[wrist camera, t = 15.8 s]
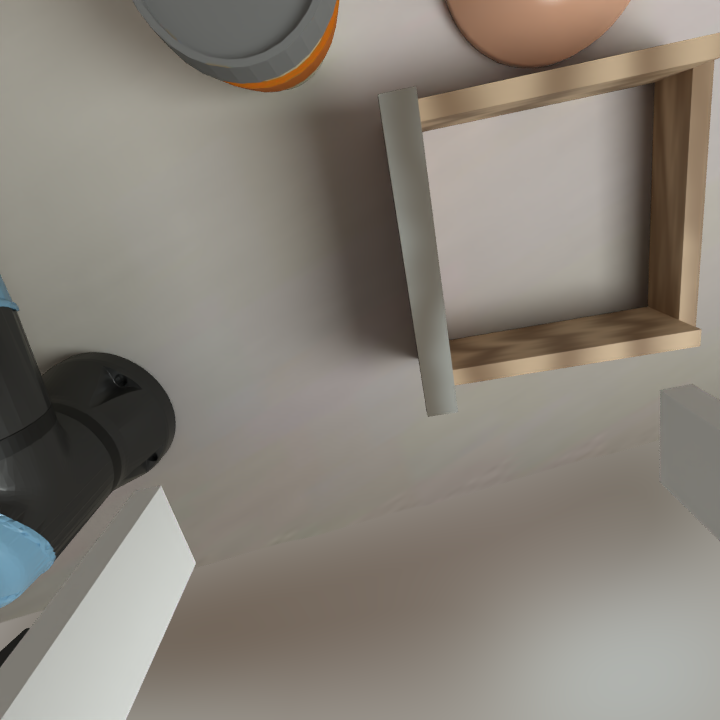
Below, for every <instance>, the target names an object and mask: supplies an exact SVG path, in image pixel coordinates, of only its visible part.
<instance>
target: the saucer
mask: <svg viewBox="0 0 720 720" xmlns="http://www.w3.org/2000/svg"><path fill="white" fill-rule="evenodd" d="M446 2H447V6H448V8H449V10H450V13H451V15H452V18H453V20H454V21H455V23H456V25H457V27H458V28H459V30H460V31H461V33H462V34H463V35H464V37H465V38H466V39H467V40H468V41H469V42H470V43H471V44H472V45H473V46H474V47H475V48H476V49H477V50H478V51H480V52H481V53H482V54H484V55H485V56H487V57H488V58H490V59H492V60H494V61H496V62H498V63H502V64H505V65H508V66H512V67H519V68H537V67H543V66H548V65H552V64H555V63H558V62H561V61H563V60H565V59H567V58H570V57H572V56H573V55H575V54H577V53H578V52H580V51H582V50H583V49H585V48H586V47H588V46H589V45H590V44H592V43H593V42H594V41H596V40H597V39H598V38H599V37H601V36H602V35H603V34H604V33H605V32H606V31H607V30H608V29H609V28H610V27H611V26H612V25H613V24H614V22H615V21H616V20H617V19H618V17H619V16H620V15H621V14H622V13H623V11H624V9H625V8H626V6H627V5H628V3H629V2H630V0H446Z"/></svg>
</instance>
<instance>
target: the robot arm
mask: <svg viewBox="0 0 720 720" xmlns="http://www.w3.org/2000/svg"><path fill="white" fill-rule="evenodd" d="M17 311H19V308H18V306H17V304H16V303H14V302H12V300H11V297H10V295H9V293H8V291H7V288H6V286H5V284H4V282H3V279H2V277H1V275H0V608H1V607H3V606H6V605H7V604H9V603H11V602H12V601H14V600H15V599H16V598H18V597H19V596H20V595H21V594H22V593H23V592H24V591H25V590H26V589H27V588H28V587H29V586H30V585H31V584H32V583H33V582H34V581H35V580H36V579H37V578H38V577H39V576H40V575H41V574H42V573H44V572H46V571H47V570H48V569H49V568H50V567H51V565H52V564H53V562H54V561H55V560H56V559H57V557H58V556H59V555H60V554H61V552H62V551H63V550H64V549H65V548H66V546H67V545H68V544H69V543H70V542H71V540H72V539H73V538H74V537H75V536H76V534H77V533H78V532H79V531H80V530H81V528H82V527H83V526H84V525H85V524H86V522H87V521H88V520H89V519H90V518H91V516H92V515H93V514H94V513H95V512H96V510H97V509H98V508H99V507H100V506H101V504H102V503H103V502H104V501H105V499H106V498H107V497H108V496H109V495H110V494H111V492H112V491H113V490H115V489H117V488H119V487H121V486H123V485H125V484H127V483H128V482H130V481H132V480H134V479H136V478H138V477H140V476H142V475H144V474H145V473H147V472H148V471H150V470H151V469H152V468H153V467H154V466H155V465H156V464H157V463H158V462H159V461H160V460H161V458H162V457H163V456H164V455H165V453H166V452H167V451H168V449H169V448H170V446H171V444H172V441H173V438H174V434H175V414H174V410H173V407H172V404H171V402H170V399H169V397H168V395H167V394H166V392H165V391H164V389H163V388H162V386H161V385H160V384H159V383H158V382H157V380H156V379H155V378H154V377H153V376H152V375H150V374H149V373H148V372H147V371H145V370H144V369H143V368H141V367H140V366H138V365H136V364H135V363H133V362H131V361H129V360H126V359H124V358H121V357H118V356H115V355H111V354H105V353H85V354H80V355H76V356H73V357H71V358H68V359H66V360H65V361H63V362H61V363H59V364H57V365H56V366H54V367H52V368H51V369H49V370H48V371H47V372H46V373H45V374H43V375H42V376H41V374H40V371H39V368H38V366H37V363H36V360H35V358H34V355H33V353H32V350H31V347H30V345H29V342H28V340H27V337H26V334H25V332H24V329H23V326H22V324H21V321H20V319H19V316H18V313H17ZM660 483H661V484H662V485H663V486H664V487H665V488H667V490H668V491H669V492H670V493H671V494H672V495H673V496H674V497H675V498H676V499H678V501H679V502H680V503H681V504H682V505H684V506H685V507H686V508H687V509H688V510H689V511H690V512H691V513H692V514H693V515H694V516H695V517H696V518H697V519H698V520H699V521H700V522H701V523H702V524H703V525H704V526H705V527H706V528H707V529H708V530H709V531H710V532H711V533H712V534H713V535H714V536H715V537H716V538H717V539H718V540H719V541H720V400H719V399H717V398H715V397H714V396H712V395H710V394H709V393H707V392H705V391H703V390H702V389H700V388H698V387H697V386H695V385H693V384H689V385H684V386H679V387H674V388H669V389H663V390H660ZM195 564H196V562H195V560H194V558H193V556H192V553H191V551H190V549H189V547H188V544H187V542H186V540H185V538H184V536H183V533H182V531H181V529H180V527H179V524H178V522H177V520H176V518H175V516H174V513H173V511H172V509H171V507H170V504H169V502H168V500H167V498H166V496H165V493H164V491H163V489H162V487H161V486H157V487H152V488H147V489H141V490H136V491H134V492H133V494H132V495H131V496H130V498H129V499H128V500H127V502H126V503H125V504H124V506H123V507H122V508H121V509H120V511H119V512H118V513H117V515H116V516H115V517H114V519H113V520H112V521H111V523H110V524H109V525H108V527H107V528H106V529H105V530H104V532H103V533H102V534H101V536H100V537H99V538H98V540H97V541H96V542H95V544H94V545H93V546H92V548H91V549H90V550H89V551H88V553H87V554H86V555H85V557H84V558H83V559H82V561H81V562H80V563H79V565H78V566H77V567H76V569H75V570H74V571H73V573H72V574H71V575H70V576H69V578H68V579H67V580H66V582H65V583H64V584H63V586H62V587H61V588H60V590H59V591H58V592H57V594H56V595H55V596H54V597H53V599H52V600H51V601H50V603H49V604H48V605H47V607H46V608H45V609H44V611H43V612H42V613H41V615H40V616H39V617H38V618H37V620H36V621H35V622H34V624H33V625H32V627H31V628H27V629H25V630H24V631H22V632H21V633H20V634H19V635H18V636H17V637H16V638H15V639H14V640H12V641H11V642H10V643H9V644H8V645H7V646H6V647H5V648H4V649H3V650H1V651H0V720H126V718H127V716H128V713H129V711H130V709H131V707H132V704H133V702H134V700H135V698H136V696H137V693H138V691H139V689H140V687H141V684H142V682H143V680H144V678H145V676H146V673H147V671H148V669H149V667H150V664H151V662H152V660H153V658H154V655H155V653H156V651H157V649H158V647H159V644H160V642H161V640H162V638H163V635H164V633H165V631H166V629H167V626H168V624H169V622H170V620H171V618H172V615H173V613H174V611H175V609H176V607H177V604H178V602H179V600H180V597H181V595H182V593H183V591H184V589H185V586H186V584H187V582H188V579H189V578H190V575H191V573H192V571H193V569H194V566H195Z"/></svg>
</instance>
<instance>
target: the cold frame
mask: <svg viewBox="0 0 720 720" xmlns="http://www.w3.org/2000/svg"><path fill="white" fill-rule="evenodd" d="M718 58H720V33H716V34H711V35H707V36H702V37H698V38H693V39H688V40H684V41H679V42H675V43H670V44H666V45H661V46H657V47H652V48H647V49H643V50H638V51H634V52H629V53H625V54H620V55H616V56H611V57H606V58H602V59H597V60H593V61H588V62H584V63H579V64H575V65H570V66H565V67H561V68H556V69H552V70H547V71H543V72H538V73H533V74H529V75H524V76H520V77H515V78H511V79H506V80H502V81H497V82H492V83H488V84H483V85H479V86H474V87H470V88H465V89H461V90H456V91H451V92H447V93H442V94H438V95H433V96H429V97H424V98H420V99H418V96H417V89H416V86H413V87H409V88H404V89H400V90H395V91H391V92H386V93H382V94H378V101H379V107H380V114H381V120H382V128H383V134H384V140H385V147H386V153H387V160H388V166H389V173H390V179H391V186H392V192H393V198H394V205H395V211H396V218H397V224H398V231H399V237H400V244H401V250H402V256H403V263H404V269H405V276H406V282H407V289H408V295H409V302H410V308H411V315H412V321H413V327H414V334H415V340H416V347H417V353H418V359H419V365H420V372H421V378H422V385H423V391H424V398H425V404H426V411H427V415H428V417H429V416H436V415H442V414H449V413H455V412H458V408H457V400H456V393H455V385H460V384H467V383H473V382H479V381H485V380H492V379H498V378H504V377H510V376H517V375H523V374H529V373H535V372H542V371H548V370H554V369H560V368H567V367H573V366H579V365H585V364H591V363H598V362H604V361H610V360H616V359H623V358H629V357H635V356H641V355H648V354H654V353H660V352H666V351H673V350H679V349H685V348H691V347H698V346H700V342H701V329H699V328H697V327H696V316H697V301H698V287H699V272H700V258H701V244H702V229H703V215H704V201H705V186H706V172H707V158H708V143H709V129H710V115H711V100H712V86H713V71H714V60H715V59H718ZM650 83H655V88H654V121H653V153H652V185H651V217H650V250H649V282H648V307H642V308H636V309H630V310H624V311H619V312H613V313H607V314H601V315H595V316H589V317H583V318H577V319H571V320H565V321H560V322H554V323H548V324H542V325H536V326H530V327H524V328H518V329H512V330H507V331H501V332H495V333H489V334H483V335H477V336H471V337H465V338H459V339H453V340H449V338H448V330H447V323H446V315H445V307H444V299H443V291H442V284H441V276H440V268H439V260H438V252H437V245H436V237H435V229H434V221H433V213H432V206H431V198H430V190H429V182H428V174H427V167H426V159H425V151H424V143H423V135H422V132H424V131H429V130H434V129H438V128H443V127H448V126H452V125H457V124H462V123H466V122H471V121H476V120H481V119H485V118H490V117H495V116H499V115H504V114H509V113H514V112H518V111H523V110H528V109H532V108H537V107H542V106H546V105H551V104H556V103H561V102H565V101H570V100H575V99H579V98H584V97H589V96H594V95H598V94H603V93H608V92H612V91H617V90H622V89H626V88H631V87H636V86H641V85H645V84H650Z"/></svg>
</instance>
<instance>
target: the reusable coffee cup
mask: <svg viewBox="0 0 720 720" xmlns="http://www.w3.org/2000/svg"><path fill="white" fill-rule="evenodd" d="M133 2H134V4H135V6H136V8H137V9H138V11H139V12H140V13H141V15H142V16H143V17H144V19H145V20H146V21H147V23H148V24H149V25H150V27H151V28H152V29H153V30H154V31H155V32H156V33H157V34H158V36H159V37H160V38H161V39H162V40H163V41H164V42H165V43H166V44H167V45H168V46H169V47H170V48H171V49H172V50H173V51H174V52H175V53H176V54H177V55H178V56H179V57H180V58H182V59H183V60H184V61H185V62H186V63H188V64H189V65H191V66H192V67H194V68H195V69H197V70H199V71H200V72H202V73H203V74H206V75H208V76H211V77H214V78H216V79H219V80H221V81H224V82H226V83H229V84H232V85H234V86H237V87H241V88H245V89H249V90H254V91H260V92H277V91H282V90H289V89H292V88H295V87H298V86H300V85H301V84H303V83H305V82H306V81H308V80H309V79H310V78H311V77H312V76H313V75H314V74H315V73H316V71H317V70H318V69H319V67H320V66H321V64H322V62H323V59H324V58H325V56H326V54H327V52H328V50H329V47H330V45H331V43H332V39H333V36H334V32H335V28H336V22H337V15H338V7H339V0H133Z"/></svg>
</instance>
